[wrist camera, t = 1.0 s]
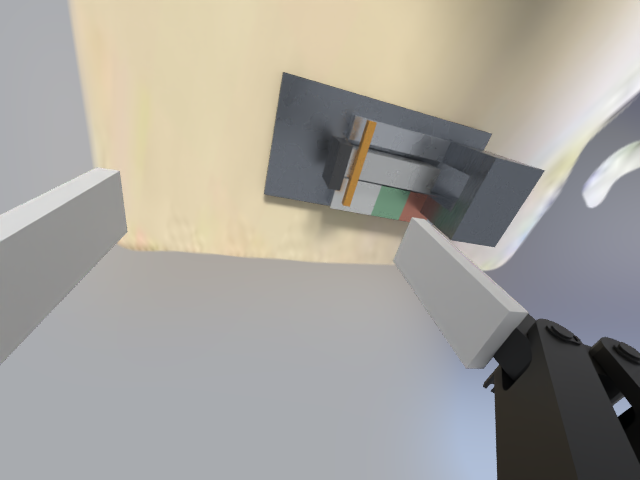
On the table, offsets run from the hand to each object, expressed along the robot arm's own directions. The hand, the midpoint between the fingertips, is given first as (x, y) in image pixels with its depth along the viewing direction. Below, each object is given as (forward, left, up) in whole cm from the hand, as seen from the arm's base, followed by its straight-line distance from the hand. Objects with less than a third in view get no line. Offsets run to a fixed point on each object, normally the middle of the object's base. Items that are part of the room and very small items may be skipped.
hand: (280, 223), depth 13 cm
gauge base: (0, +13, -21) cm, 25 cm away
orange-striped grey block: (0, +12, -20) cm, 23 cm away
